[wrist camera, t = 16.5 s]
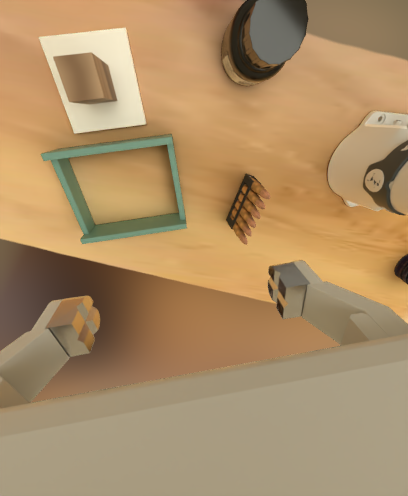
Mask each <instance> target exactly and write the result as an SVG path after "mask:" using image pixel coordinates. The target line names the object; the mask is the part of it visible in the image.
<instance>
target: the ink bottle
mask: <svg viewBox="0 0 408 496" xmlns="http://www.w3.org/2000/svg"><path fill="white" fill-rule="evenodd" d="M307 22H308V15H307V4H306V1H305V0H247V1H245V2H244V3H243V4H242V5H241V7H240V8H239V9H238V11H237V12H236V14H235V16H234V17H233V19H232V20H231V22H230V24H229V25H228V27H227V29H226V31H225V34H224V37H223V41H222V48H221V56H222V63H223V67H224V70H225V72H226V74H227V75H228V76H229V78H230V79H231V80H232V81H234V82H235V83H237V84H239V85H243V86H251V85H255V84H257V83H260V82H263V81H265V80H268V79H270V78H272V77H273V76H274V75H276V74H277V73H278V72H279V71H280V70H281V68H282V67H283V66H284V64H285V62H286V61H288V60H290V59H291V58H292V56H293V55H294V54H295V53H296V52H297V51H298V50H299V48H300V45H301V43H302V41H303V39H304V37H305V35H306V27H307Z"/></svg>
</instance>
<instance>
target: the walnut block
mask: <svg viewBox="0 0 408 496" xmlns="http://www.w3.org/2000/svg"><path fill="white" fill-rule="evenodd" d="M53 59H54V61H55V64H56V67H57V70H58V72H59V75H60V78H61V81H62V84H63V86H64V89H65V92H66V95H67V98H68V100H69V102H72V103H81V104H97V103H105V102H114V101H117V97H116V93H115V89H114V85H113V82H112V78H111V74H110V70H109V66H108V65H107V64H106V63H105V62H103V61H102V60H101V59H100V58H98V57H97V56H96V55H94V54H93V53H92V52H90V53H81V54H72V55H63V56H54V57H53Z"/></svg>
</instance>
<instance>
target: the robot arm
mask: <svg viewBox="0 0 408 496" xmlns="http://www.w3.org/2000/svg"><path fill="white" fill-rule="evenodd" d="M378 118H379V120H378ZM328 182H329V185H330V187H331V189H332V190H333V191H334V192H335V193H336V194H337V195H339V196H341V197H342V198H343V200H344V202H345V204H346V205H347V206H349V207H355V206H358V205H360V206H363V207H366V208H368V209H371V210H374V211H379V210H382V209H385V210H387V211H389V212H391V213H396V214H399V215H407V216H408V114H400V113H391V112H382V111H372V112H370V113H369V114H368V115H367V116H366V117H365V119H364V120H363V121H362V123H361V124H360V126H359V127H358V128H357V129H355V130H354V131H353V132H352V133H350V134H349V135H348V136H347V137H346V138H345V139H344V140H343V141H342V142H341V143H340V144H339V146H338V147H337V148H336V150H335V152H334V153H333V155H332V158H331V160H330V163H329V167H328ZM268 273H269V275H270V279H269V280H268V290H269V294H270V296H271V298H272V300H273V301H275V302H276V303H277V309H278V311H279V313H280V315H281V317H282V318H283V319H286V318H292V317H299V316H302V318H304V319H305V320H306V321H308V322H309V323H311V324H312V325H314V326H315V327H316V328H318V329H319V330H321V331H322V332H324V333H325V334H327V335H328V336H329V337H331V338H332V339H333V340H335V341H336V342H338V343H339V344H340V346H338V347H332V348H327V349H322V350H316V351H310V352H305V353H300V354H294V355H288V356H283V357H277V358H272V359H267V360H261V361H256V362H251V363H245V364H239V365H235V366H229V367H223V368H218V369H212V370H207V371H201V372H197V373H191V374H185V375H180V376H175V377H169V378H163V379H158V380H152V381H147V382H141V383H136V384H130V385H125V386H119V387H114V388H108V389H103V390H98V391H92V392H87V393H82V394H76V395H70V396H65V397H59V398H54V399H49V400H43V401H38V402H32V403H31V401H32V400H33V399H34V398H35V397H36V396H37V395H38V394H39V392H40V391H41V390H42V389H43V388H44V387H45V386H46V384H47V383H48V382H49V381H50V380H51V379H52V378H53V376H54V375H55V374H56V373H57V372H58V371H59V370H60V368H61V367H62V366H63V365H64V364H65V363H66V362H67V360H68V359H69V357H72V356H77V355H82V354H87V353H90V352H91V349H92V346H93V343H94V340H95V338H94V336H93V334H95V333H96V331H97V330H98V329H99V325H100V316H99V312H98V310H97V309H96V308H94V307H92V304H93V301H92V299H91V297H90V296H82V297H75V298H68V299H61V300H55V301H52V302H50V303H49V304H48V306H47V307H46V309H45V310H44V312H43V314H42V315H41V317H40V318H39V320H38V321H37V323H36V324H35V326H34V327H33V329H32V330H31V331H30V332H26V333H25V334H23V335H22V336H21V337H19V338H18V339H17V340H16V341H14V342H13V343H11V344H10V345H8V346H7V347H6V348H4V349H3V350H2V351H0V496H408V324H407V323H406V322H405V321H404V320H403V319H402V318H400V317H399V316H398V315H397V314H396V313H395V312H394V311H393V310H391V309H390V308H389V307H387V306H385V305H382V304H380V303H378V302H375V301H373V300H370V299H368V298H365V297H363V296H361V295H358V294H356V293H353V292H351V291H349V290H346V289H344V288H341V287H339V286H336V285H334V284H332V283H329V282H327V281H326V282H323V281H322V280H321V279H320V278H319V277H318V276H317V275H316V273H315V272H314V271H313V270H312V269H311V268H310V267H309V266H308V265H307V264H306V262H305V261H303V260H299V261H294V262H290V263H284V264H278V265H272V266H270V267H269V272H268Z"/></svg>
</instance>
